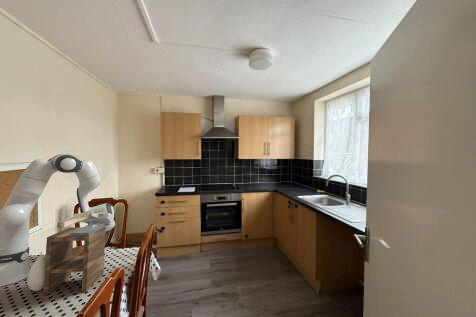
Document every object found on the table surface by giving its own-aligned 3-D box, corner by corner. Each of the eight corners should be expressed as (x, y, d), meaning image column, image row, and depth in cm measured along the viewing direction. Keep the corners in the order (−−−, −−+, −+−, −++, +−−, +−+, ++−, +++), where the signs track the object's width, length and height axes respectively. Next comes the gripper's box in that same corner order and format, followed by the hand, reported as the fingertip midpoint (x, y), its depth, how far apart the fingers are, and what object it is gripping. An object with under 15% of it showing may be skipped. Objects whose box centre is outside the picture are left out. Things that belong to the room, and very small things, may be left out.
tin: (60, 266, 109) (61, 251, 110) (59, 264, 111) (60, 249, 112) (92, 256, 121) (92, 243, 121) (91, 255, 123) (91, 242, 123)
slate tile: (70, 236, 88) (70, 233, 88) (88, 227, 101) (88, 224, 101) (88, 235, 89) (88, 232, 89) (104, 226, 102) (104, 224, 102)
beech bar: (57, 227, 88) (57, 222, 88) (87, 215, 110) (87, 211, 110) (64, 227, 89) (64, 222, 89) (93, 215, 110) (93, 211, 111)
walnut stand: (43, 294, 85) (46, 237, 86) (66, 276, 99) (69, 227, 100) (86, 291, 88) (89, 236, 89) (103, 274, 102) (105, 226, 103)
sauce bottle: (21, 296, 84) (24, 256, 85) (35, 285, 91) (37, 248, 92) (42, 294, 86) (45, 254, 86) (54, 283, 93) (56, 247, 94)
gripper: (82, 215, 118) (68, 208, 107) (116, 214, 121) (107, 208, 110) (78, 225, 115) (63, 220, 104) (114, 224, 118) (103, 219, 106)
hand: (86, 214), depth 107 cm, fingers closed on beech bar, 3 cm apart
